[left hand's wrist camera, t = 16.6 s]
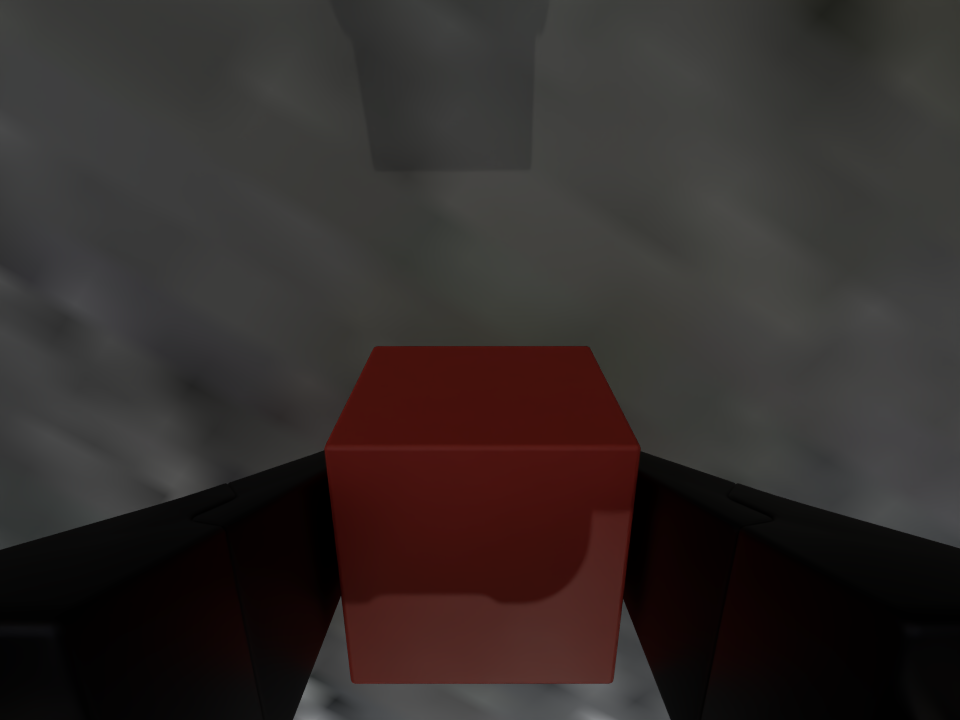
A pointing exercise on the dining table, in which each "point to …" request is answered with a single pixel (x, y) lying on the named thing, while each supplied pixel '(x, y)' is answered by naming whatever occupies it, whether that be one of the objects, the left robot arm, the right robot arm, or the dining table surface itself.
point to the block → (482, 516)
